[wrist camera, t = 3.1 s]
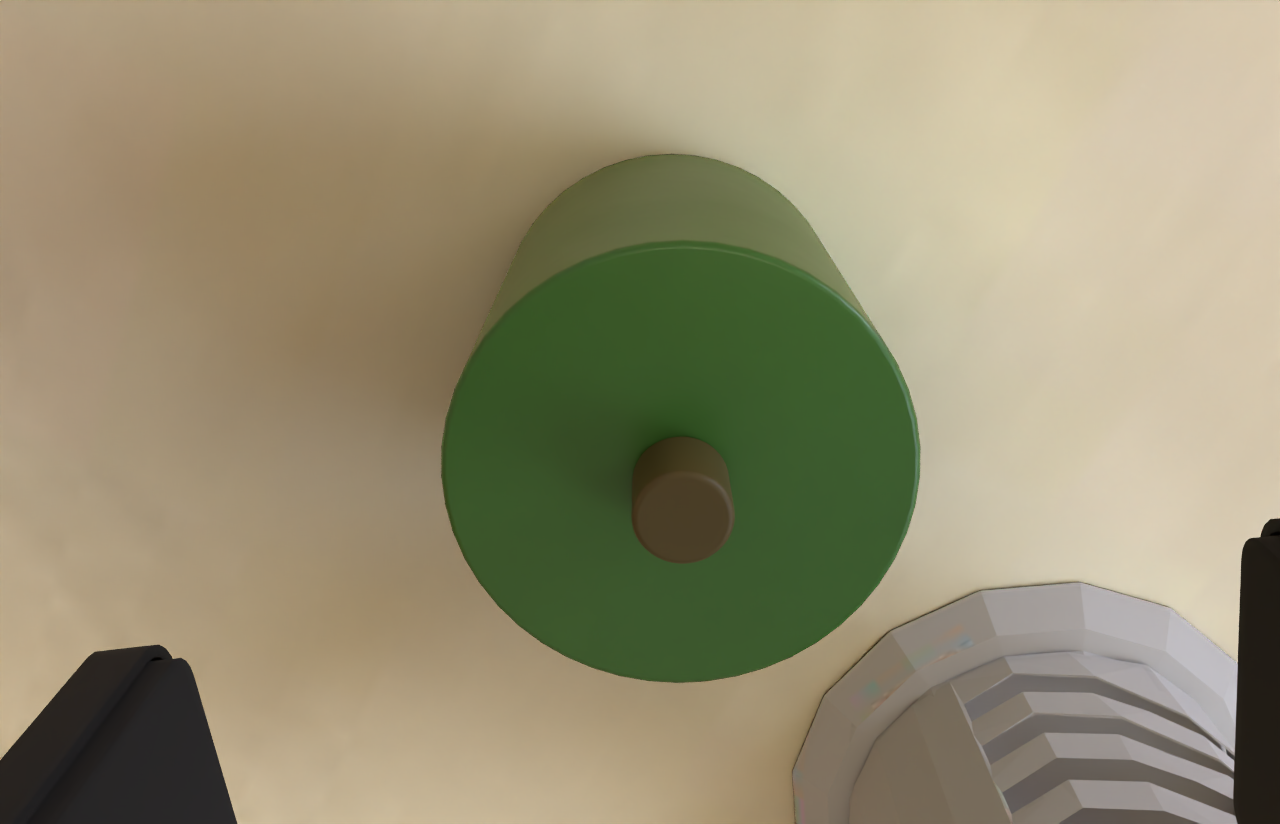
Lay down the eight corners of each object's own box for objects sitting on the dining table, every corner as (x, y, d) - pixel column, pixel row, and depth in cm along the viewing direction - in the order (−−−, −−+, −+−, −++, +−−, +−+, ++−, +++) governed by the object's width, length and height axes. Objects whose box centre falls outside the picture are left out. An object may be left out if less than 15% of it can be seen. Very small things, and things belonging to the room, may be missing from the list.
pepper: (531, 495, 23) (473, 764, 15) (475, 177, 21) (373, 303, 13) (849, 456, 22) (955, 712, 15) (824, 131, 20) (930, 230, 13)
